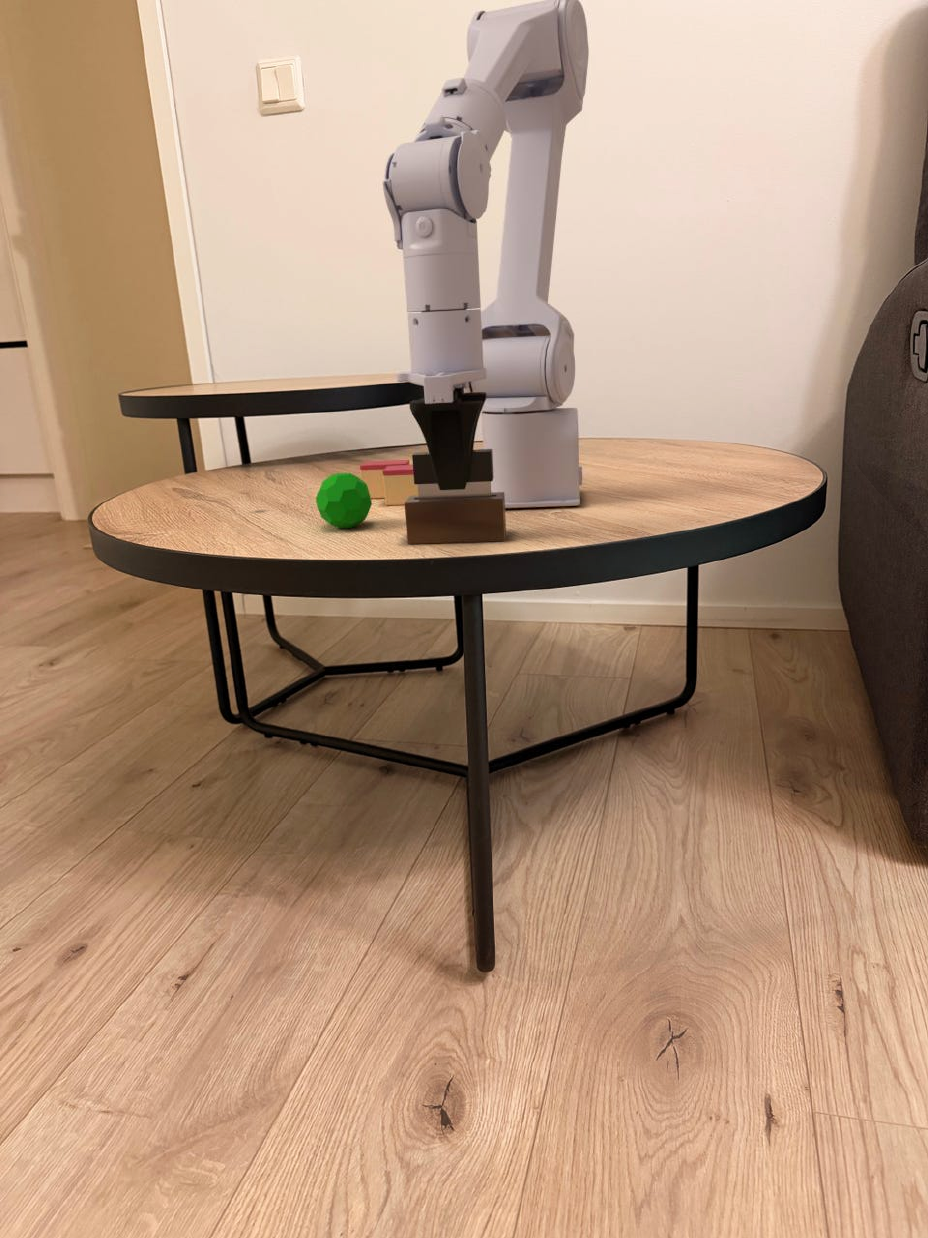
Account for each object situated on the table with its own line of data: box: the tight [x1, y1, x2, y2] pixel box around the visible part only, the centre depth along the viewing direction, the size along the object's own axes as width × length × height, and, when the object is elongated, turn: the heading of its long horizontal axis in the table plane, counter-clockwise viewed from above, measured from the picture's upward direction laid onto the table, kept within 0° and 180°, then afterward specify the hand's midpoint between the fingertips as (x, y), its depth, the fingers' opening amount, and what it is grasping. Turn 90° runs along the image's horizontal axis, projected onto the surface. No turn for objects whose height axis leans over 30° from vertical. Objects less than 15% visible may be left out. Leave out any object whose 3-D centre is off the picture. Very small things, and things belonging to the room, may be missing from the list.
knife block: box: [404, 492, 507, 545], centre depth 76 cm, size 8×3×4 cm, turn 85°
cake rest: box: [383, 464, 418, 506], centre depth 93 cm, size 6×3×4 cm, turn 85°
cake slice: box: [359, 459, 410, 499], centre depth 97 cm, size 5×3×4 cm, turn 85°
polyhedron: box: [315, 472, 373, 529], centre depth 83 cm, size 5×5×5 cm
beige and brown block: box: [411, 448, 494, 499], centre depth 75 cm, size 6×2×7 cm, turn 85°
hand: (454, 486), depth 75 cm, fingers closed
